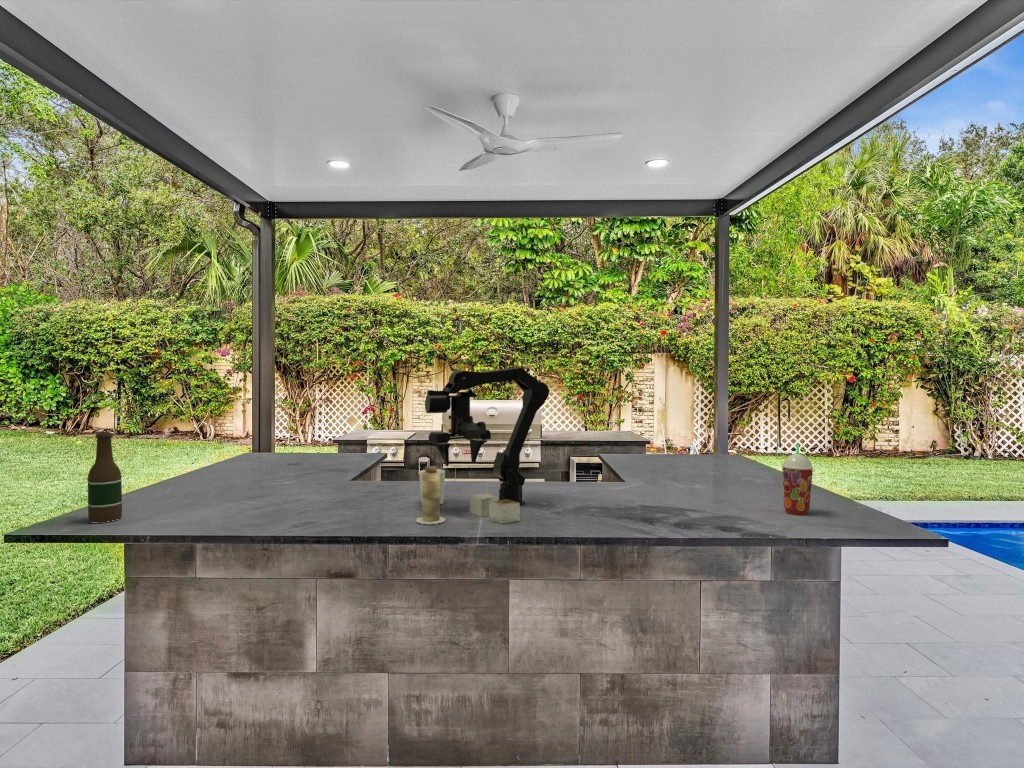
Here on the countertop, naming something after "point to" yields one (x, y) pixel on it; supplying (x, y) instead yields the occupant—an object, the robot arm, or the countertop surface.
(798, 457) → the smoothie
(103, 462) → the beer bottle
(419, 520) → the coaster
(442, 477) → the white cup
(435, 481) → the pepper mill
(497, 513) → the spice tin
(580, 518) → the countertop surface
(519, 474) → the robot arm
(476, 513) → the spice tin
